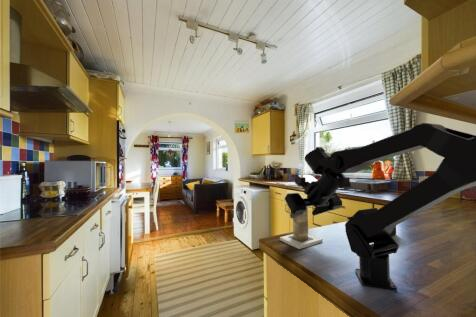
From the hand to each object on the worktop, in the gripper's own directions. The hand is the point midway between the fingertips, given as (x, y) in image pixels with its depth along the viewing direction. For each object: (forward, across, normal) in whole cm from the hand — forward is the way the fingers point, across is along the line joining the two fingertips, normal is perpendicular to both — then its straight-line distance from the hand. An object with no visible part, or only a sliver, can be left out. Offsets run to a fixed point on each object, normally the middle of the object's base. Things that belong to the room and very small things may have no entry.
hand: (302, 215), depth 69 cm
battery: (+2, -32, +11) cm, 34 cm away
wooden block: (+6, 0, +5) cm, 8 cm away
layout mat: (+7, 0, +6) cm, 9 cm away
